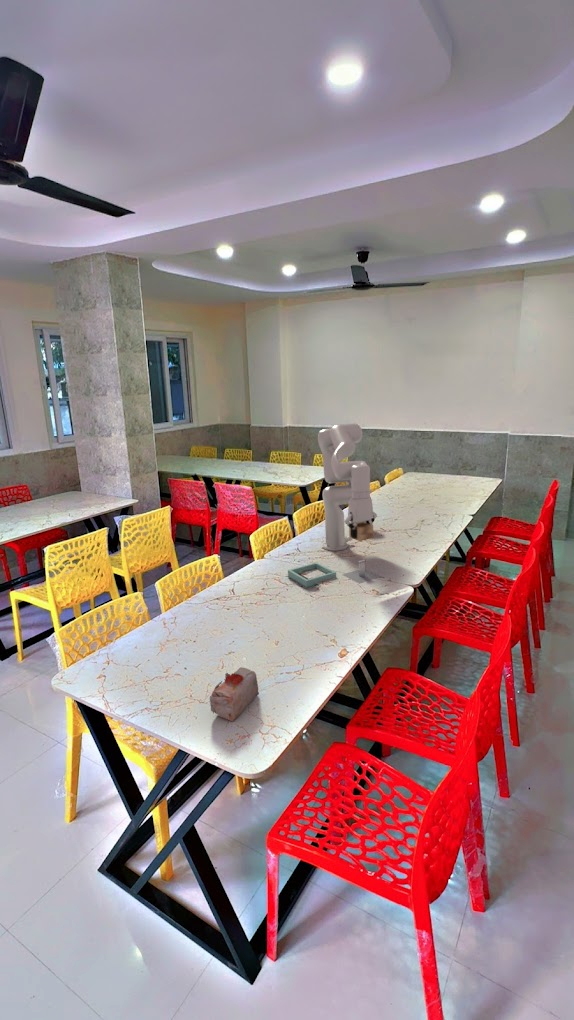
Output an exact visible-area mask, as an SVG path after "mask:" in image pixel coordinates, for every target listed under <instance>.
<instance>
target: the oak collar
mask: <svg viewBox="0 0 574 1020" xmlns="http://www.w3.org/2000/svg"><path fill="white" fill-rule="evenodd" d="M353 525H354V524H353ZM348 529H349V531H348V535H349V537H351V528H349V527H348ZM356 529H357V538H356V539H355V538H352V537H351V538H352V540H353V539H354V540H356V541H358V542H363V541H366V540H367V541H368V540H370V539H374V524H373V525H371V524H368V523H365V522H360V523H357V526H356Z"/></svg>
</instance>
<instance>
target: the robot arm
mask: <svg viewBox="0 0 574 1020" xmlns="http://www.w3.org/2000/svg"><path fill="white" fill-rule="evenodd" d="M362 439H363V430H362V428H361V426H360V425H359V424H357V423H343V424H337V425H334V426H332V427H330V428H324V429H322V430H319V432H318V435H317V441H318V442H317V443H318V446H319V448H320V451H321V454H322V464H323V476H324V477H323V478H324V481H325V482H326V483H328V484H339V483H346V484H339V485H331V486H330V485H329V486H327V487H325V488H324V489H323V490H322V500H323V507H324V523H325V526H324V527H325V529H324V531H325V542H324V543H323V544H322V548H323V549H324V550H326V551H330V552H335V551H336V552H338V551H343V550H346V549H347V548H348V547H349V544H348V542H351V541H353V538H355V539H356V538H357V529H356V526H357V523H360V522H364V521H366V523H368V524H371V525H373V526H374V522H375V520H376V518H377V516H378V514H377V513H376V512H375V511H374V508H373V507H374V506H373V501H372V500H373V499H372V496H371V494H372V492H373V491H372V490H371V467H370V465H368V464H367V462H366V461H364V460H351V461H344V460H346V459H347V458H349V457H351V456H352V455H353V454H354V453H355V450H356V445H355V444H358V443H359V442H361V441H362ZM341 505H348V506H347V507H348V508H347V517H346V518H345V512H344V510H343V509H342V508H341V507H340V506H341ZM350 521H351V523H350ZM353 524H354V525H353ZM345 525H346V526H348V529H349V528H351V537H352V538H351V537H347V536H346V535H345ZM355 539H354V540H355Z"/></svg>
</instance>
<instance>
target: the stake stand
mask: <svg viewBox="0 0 574 1020" xmlns="http://www.w3.org/2000/svg"><path fill="white" fill-rule="evenodd" d="M365 562H366V559H362V560H361V559H360V560H358V561H357V563H358V569H357V570H353V571H350V572H347V573H342V576H344V577H346V578H348V579H350V580H352V581H354V582H356V583H358V584H359V585H360V584H362V583H365V582H369V581H372V580H375V579H379V578H382V577H383V576H382V575H380V574H378V573H375V572H373V571H370V570H369V569H367V568H365V566H366V565H365Z"/></svg>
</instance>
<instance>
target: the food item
mask: <svg viewBox="0 0 574 1020" xmlns="http://www.w3.org/2000/svg"><path fill="white" fill-rule="evenodd" d="M223 680H224V681H223ZM223 680H221V681H220V682H219V683H218V684H217V685H216V686H215V687H214V690H213V691H212V693H211V695H209V701H210V702H209V706H210V711H211V713H213V714H216V715H217V716H219V717H220V718H224V719H225V720H227V721H229V722H234V721H235V720H236V719H237V718H239V716H240V715H241V713H243V712H244V711H245V710H246V708H247V707H248V706H249V705H250V704H251V703H252V702H253V701H254V700H255V699H256V697H258V695H259V694H260V692H259V684H258V678H257V674H256V672H255V671H253V670H251V669H249V668H245V667H242V666H241V667H239V668H238V669H237V670H236V671H234V672H233V673H231V674H230V673H228V672H226V673H225V677H224V679H223Z"/></svg>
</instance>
